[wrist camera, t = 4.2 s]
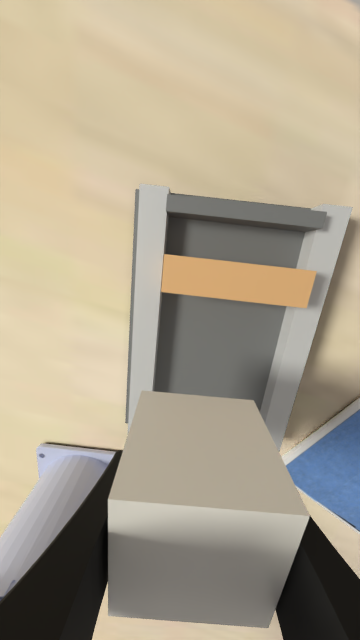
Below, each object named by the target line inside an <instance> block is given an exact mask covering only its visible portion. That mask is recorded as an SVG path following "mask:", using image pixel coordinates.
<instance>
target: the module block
mask: <svg viewBox="0 0 360 640" xmlns="http://www.w3.org/2000/svg"><path fill="white" fill-rule="evenodd" d="M309 517H310V515H309V513H308V511H307V509H306V507H305V505H304V503H303V501H302V499H301V497H300V494H299V492H298V490H297V488H296V486H295V484H294V482H293V480H292V478H291V476H290V474H289V472H288V470H287V468H286V466H285V464H284V462H283V460H282V457H281V455H280V453H279V451H278V449H277V447H276V445H275V443H274V441H273V439H272V437H271V435H270V433H269V431H268V429H267V427H266V425H265V422H264V420H263V418H262V416H261V414H260V412H259V410H258V408H257V406H256V404H255V402H254V400H245V399H234V398H222V397H211V396H200V395H188V394H177V393H166V392H155V391H143V390H142V391H141V394H140V397H139V401H138V404H137V407H136V410H135V414H134V417H133V420H132V423H131V426H130V430H129V433H128V436H127V439H126V443H125V446H124V449H123V452H122V455H121V459H120V462H119V465H118V468H117V472H116V475H115V478H114V481H113V485H112V488H111V491H110V494H109V497H108V616H116V617H129V618H142V619H155V620H168V621H181V622H194V623H208V624H221V625H234V626H247V627H260V628H269V625H270V622H271V620H272V617H273V614H274V611H275V609H276V606H277V603H278V601H279V598H280V595H281V593H282V590H283V587H284V585H285V582H286V579H287V576H288V574H289V571H290V568H291V566H292V563H293V560H294V558H295V555H296V552H297V550H298V547H299V544H300V542H301V539H302V536H303V533H304V531H305V528H306V525H307V523H308V520H309Z"/></svg>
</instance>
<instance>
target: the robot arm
mask: <svg viewBox="0 0 360 640" xmlns="http://www.w3.org/2000/svg"><path fill="white" fill-rule="evenodd" d="M36 452H37V462H38V472H39V480H38V482H37V483H36V485H35V486H34V488H33V489H32V491H31V492H30V494H29V495H28V497H27V498H26V500H25V501H24V503H23V504H22V506H21V507H20V509H19V510H18V512H17V513H16V515H15V516H14V518H13V519H12V521H11V522H10V524H9V525H8V526H7V528H6V529H5V531H4V532H3V534H2V535H1V537H0V640H92V636H93V632H94V628H95V625H96V621H97V617H98V613H99V610H100V606H101V603H102V599H103V596H104V592H105V589H106V586H107V582H108V497H109V494H110V491H111V488H112V485H113V481H114V478H115V475H116V472H117V468H118V465H119V462H120V459H121V455H122V452H123V451H120V450H118V451H117V452H114V451H105V450H97V449H88V448H79V447H71V446H62V445H53V444H45V443H43V444H40V445H39V446H38V447H37V449H36ZM276 613H277V616H278V620H279V624H280V628H281V632H282V636H283V640H360V579H359V578H358V577H357V575H356V574H355V573H354V572H353V570H352V569H351V568H350V567H349V565H348V564H347V563H346V562H345V560H344V559H343V558H342V557H341V555H340V554H339V553H338V552H337V550H336V549H335V548H334V547H333V545H332V544H331V543H330V541H329V540H328V539H327V537H326V536H325V535H324V533H323V532H322V531H321V530H320V528H319V527H318V526H317V524H316V523H315V522H314V520H313V519H312V518H311V516H310V517H309V520H308V523H307V525H306V528H305V531H304V533H303V536H302V539H301V542H300V544H299V547H298V550H297V552H296V555H295V558H294V560H293V563H292V566H291V568H290V571H289V574H288V576H287V579H286V582H285V585H284V587H283V590H282V593H281V595H280V598H279V601H278V603H277V606H276Z"/></svg>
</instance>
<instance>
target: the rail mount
mask: <svg viewBox="0 0 360 640" xmlns="http://www.w3.org/2000/svg"><path fill="white" fill-rule="evenodd" d="M352 208H353V207H346V206H337V205H328V204H322V205H319V206H317V207H314V208H312V209H310V208H301V207H292V206H283V205H274V204H265V203H256V202H247V201H238V200H229V199H220V198H211V197H202V196H193V195H184V194H175V193H171V192H170V189H169V187H165V186H156V185H147V184H140V188H139V189H136V193H135V216H134V239H133V262H132V285H131V308H130V331H129V354H128V377H127V400H126V422H125V423H128V433H129V430H130V426H131V423H132V420H133V417H134V414H135V410H136V407H137V404H138V401H139V397H140V394H141V391H142V390H143V391H155V392H166V393H177V394H188V395H200V396H211V397H222V398H234V399H245V400H254V402H255V404H256V406H257V408H258V410H259V412H260V414H261V416H262V418H263V420H264V422H265V425H266V427H267V429H268V431H269V433H270V435H271V437H272V439H273V441H274V443H275V445H276V447H277V449H278V451H280V447H281V444H282V441H283V438H284V434H285V431H286V428H287V424H288V421H289V418H290V414H291V411H292V408H293V404H294V401H295V398H296V394H297V391H298V388H299V384H300V381H301V378H302V374H303V371H304V368H305V364H306V361H307V358H308V354H309V351H310V348H311V344H312V341H313V338H314V334H315V331H316V328H317V324H318V321H319V318H320V314H321V311H322V308H323V305H324V301H325V298H326V295H327V291H328V288H329V285H330V281H331V278H332V275H333V271H334V268H335V265H336V261H337V258H338V255H339V251H340V248H341V245H342V241H343V238H344V235H345V231H346V228H347V225H348V221H349V218H350V215H351V211H352ZM164 254H169V255H178V256H187V257H196V258H205V259H214V260H223V261H231V262H240V263H249V264H258V265H267V266H276V267H285V268H294V269H303V270H311V271H317V273H316V276H315V280H314V283H313V287H312V291H311V294H310V298H309V301H308V305H307V308H299V307H290V306H281V305H272V304H263V303H254V302H246V301H237V300H228V299H219V298H210V297H201V296H192V295H183V294H174V293H166V292H161V287H162V275H163V263H164Z"/></svg>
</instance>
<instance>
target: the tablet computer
mask: <svg viewBox="0 0 360 640" xmlns="http://www.w3.org/2000/svg"><path fill="white" fill-rule="evenodd" d="M281 457H282V460H283V462H284V464H285V466H286V468H287V470H288V472H289V474H290V476H291V478H292V480H293V482H294V484H295V486H296V488H297V489H298V490H299V491H300V492H302V493H303V494H305V495H306V496H307V497H309V498H310V499H311V500H313V501H314V502H316V503H317V504H318V505H320V506H321V507H322V508H324V509H325V510H327V511H328V512H329V513H331V514H332V515H333V516H335V517H336V518H338V519H339V520H340V521H342V522H343V523H344V524H346V525H347V526H349V527H350V528H351V529H353V530H354V531H355V532H357V533H359V534H360V397H359V398H358V399H357V400H355V401H354V402H353V403H351V404H350V405H349V406H348V407H346V408H345V409H344V410H342V411H341V412H340V413H338V414H337V415H336V416H335V417H333V418H332V419H331V420H329V421H328V422H327V423H325V424H324V425H323V426H321V427H320V428H319V429H318V430H316V431H315V432H314V433H312V434H311V435H309V436H308V437H307V438H306V439H304V440H303V441H301V442H300V443H299V444H297V445H296V446H295V447H293V448H292V449H291V450H289V451H288V452H287V453H285V454H284V455H283V456H281Z"/></svg>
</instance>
